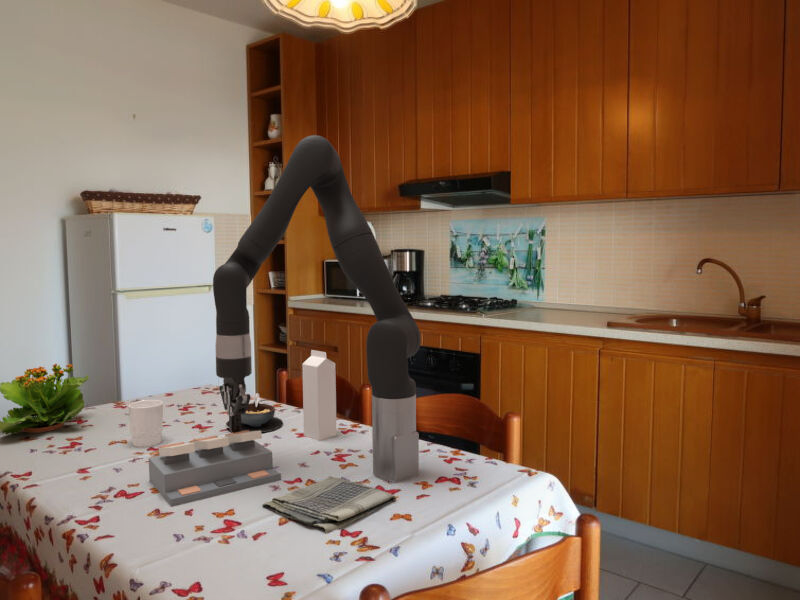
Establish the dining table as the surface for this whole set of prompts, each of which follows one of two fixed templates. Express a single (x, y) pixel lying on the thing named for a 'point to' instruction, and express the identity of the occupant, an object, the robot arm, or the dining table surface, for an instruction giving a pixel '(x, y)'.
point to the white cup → (146, 422)
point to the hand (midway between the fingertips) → (235, 431)
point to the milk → (319, 396)
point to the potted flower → (42, 400)
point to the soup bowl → (259, 417)
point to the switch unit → (211, 471)
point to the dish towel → (330, 503)
